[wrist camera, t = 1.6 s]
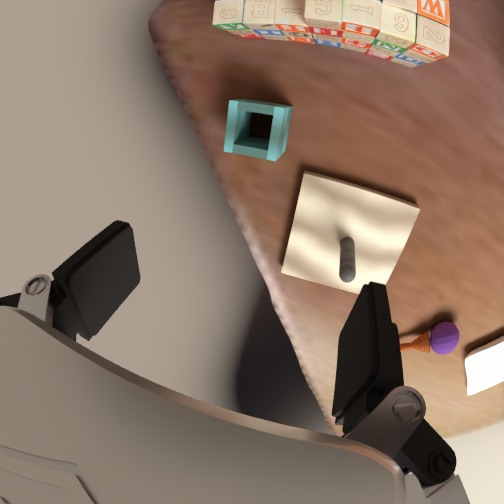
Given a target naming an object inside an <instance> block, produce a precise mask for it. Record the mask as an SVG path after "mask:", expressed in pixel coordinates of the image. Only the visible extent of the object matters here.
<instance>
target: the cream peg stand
mask: <svg viewBox="0 0 504 504" xmlns="http://www.w3.org/2000/svg"><path fill="white" fill-rule="evenodd" d="M419 211H420V208H419V207H418V205H416V204H414V203H411V202H408V201H406V200H403V199H400V198H397V197H394V196H391V195H388V194H385V193H382V192H379V191H376V190H373V189H370V188H367V187H364V186H360V185H357V184H354V183H350V182H347V181H343V180H340V179H336V178H333V177H329V176H326V175H322V174H318V173H314V172H310V171H306V170H305V172H304V175H303V180H302V185H301V189H300V194H299V198H298V203H297V207H296V212H295V216H294V221H293V225H292V229H291V234H290V238H289V242H288V246H287V250H286V255H285V259H284V263H283V267H282V271H281V273H284V274H288V275H291V276H295V277H298V278H302V279H305V280H309V281H313V282H316V283H320V284H324V285H327V286H331V287H334V288H338V289H342V290H345V291H349V292H353V293H356V294H359V293H360V291H361V289H362V287H363V285H364V284H369V282H370V281H373V282H377V283H381V284H386V282H387V280H388V279H389V277H390V275H391V273H392V271H393V269H394V267H395V265H396V263H397V261H398V258H399V256H400V254H401V252H402V250H403V248H404V246H405V243H406V241H407V239H408V237H409V235H410V232H411V230H412V228H413V225H414V223H415V220H416V218H417V216H418V213H419Z"/></svg>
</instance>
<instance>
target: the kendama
mask: <svg viewBox="0 0 504 504" xmlns="http://www.w3.org/2000/svg"><path fill="white" fill-rule="evenodd" d="M458 340H459V331H458V329H457V327H456V326H455V325H454V324H453V323H451V322H446V321H445V322H441V323H439V324H438V325H436V326H435V327H434V329H433V330H432V332H431V335H430V338H429V335H428V331H426V332H425V333H424V334H422V335H421V336H420V337H418V338H417V339H416V340H414V341H413V342H411V343H404V344H400V350H401V352H402V351H405V350H408V349H415V350H419V351H423V352H427V353H429V352H430V345H431V347H432V349H433V350H434V351H435V352H436V353H438V354H447V353H450V352H451V351H452V350H454V349H455V347H456V346H457V344H458Z"/></svg>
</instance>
